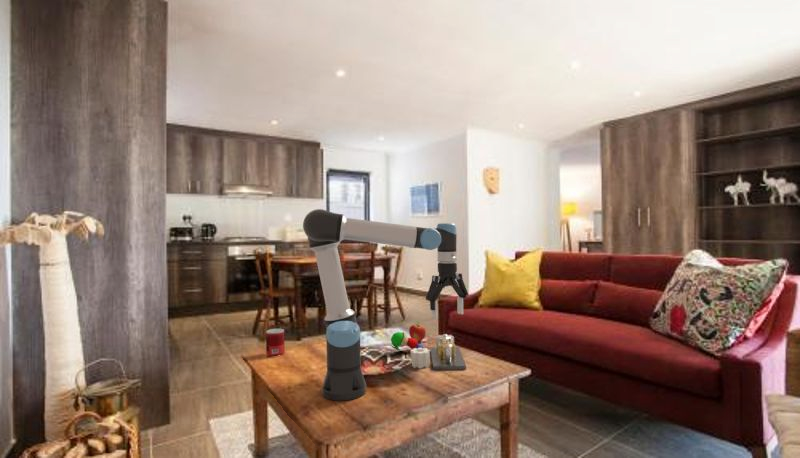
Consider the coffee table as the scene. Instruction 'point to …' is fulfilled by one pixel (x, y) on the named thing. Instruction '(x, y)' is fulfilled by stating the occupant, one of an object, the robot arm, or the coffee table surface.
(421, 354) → the planet gear
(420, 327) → the apple
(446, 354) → the carrier
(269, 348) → the canned food
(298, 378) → the coffee table surface
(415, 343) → the toy
